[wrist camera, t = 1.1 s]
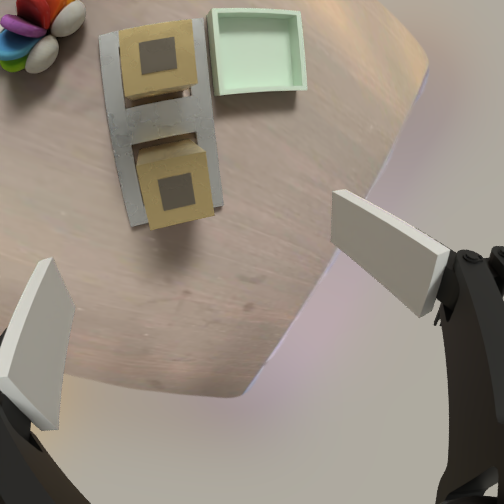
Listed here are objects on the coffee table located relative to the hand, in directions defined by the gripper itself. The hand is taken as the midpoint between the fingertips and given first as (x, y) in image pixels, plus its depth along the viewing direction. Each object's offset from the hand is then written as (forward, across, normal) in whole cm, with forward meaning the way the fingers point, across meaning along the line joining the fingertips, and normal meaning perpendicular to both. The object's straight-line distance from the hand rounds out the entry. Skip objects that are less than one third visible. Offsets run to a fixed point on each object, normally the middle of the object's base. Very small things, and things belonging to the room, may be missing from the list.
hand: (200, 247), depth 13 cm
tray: (+18, +10, +11) cm, 24 cm away
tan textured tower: (+18, 0, +10) cm, 21 cm away
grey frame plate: (+18, 0, +5) cm, 19 cm away
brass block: (+18, 0, 0) cm, 19 cm away
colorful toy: (+19, -11, +18) cm, 28 cm away
